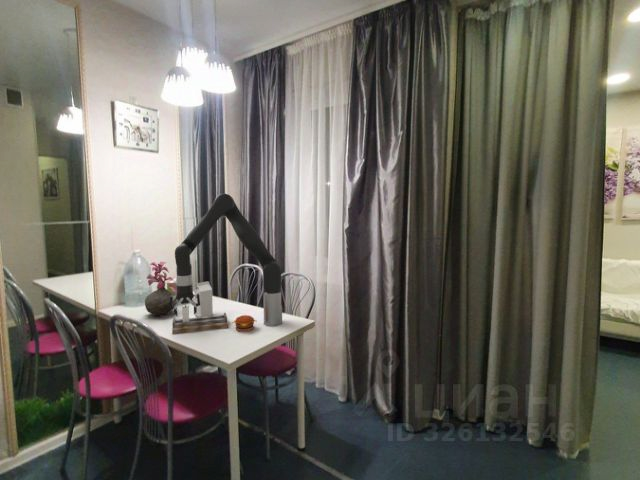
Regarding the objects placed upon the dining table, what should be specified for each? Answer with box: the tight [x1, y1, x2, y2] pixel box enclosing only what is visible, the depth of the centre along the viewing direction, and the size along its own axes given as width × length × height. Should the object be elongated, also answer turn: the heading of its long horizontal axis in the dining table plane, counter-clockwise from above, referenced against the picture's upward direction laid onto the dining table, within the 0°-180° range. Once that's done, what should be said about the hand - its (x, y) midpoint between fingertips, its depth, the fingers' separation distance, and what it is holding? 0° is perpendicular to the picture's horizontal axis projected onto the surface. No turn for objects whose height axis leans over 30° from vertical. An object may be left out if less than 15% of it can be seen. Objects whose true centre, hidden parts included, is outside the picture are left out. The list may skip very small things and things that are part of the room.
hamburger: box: [232, 314, 257, 333], centre depth 167 cm, size 9×10×7 cm
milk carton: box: [193, 281, 214, 317], centre depth 186 cm, size 7×7×19 cm
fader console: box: [171, 312, 229, 335], centre depth 170 cm, size 26×14×4 cm, turn 111°
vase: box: [144, 261, 177, 317], centre depth 186 cm, size 17×17×30 cm
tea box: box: [166, 276, 186, 306], centre depth 211 cm, size 15×10×15 cm
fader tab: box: [181, 304, 190, 322], centre depth 168 cm, size 3×4×9 cm, turn 21°
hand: (185, 314), depth 167 cm, fingers open, 8 cm apart
